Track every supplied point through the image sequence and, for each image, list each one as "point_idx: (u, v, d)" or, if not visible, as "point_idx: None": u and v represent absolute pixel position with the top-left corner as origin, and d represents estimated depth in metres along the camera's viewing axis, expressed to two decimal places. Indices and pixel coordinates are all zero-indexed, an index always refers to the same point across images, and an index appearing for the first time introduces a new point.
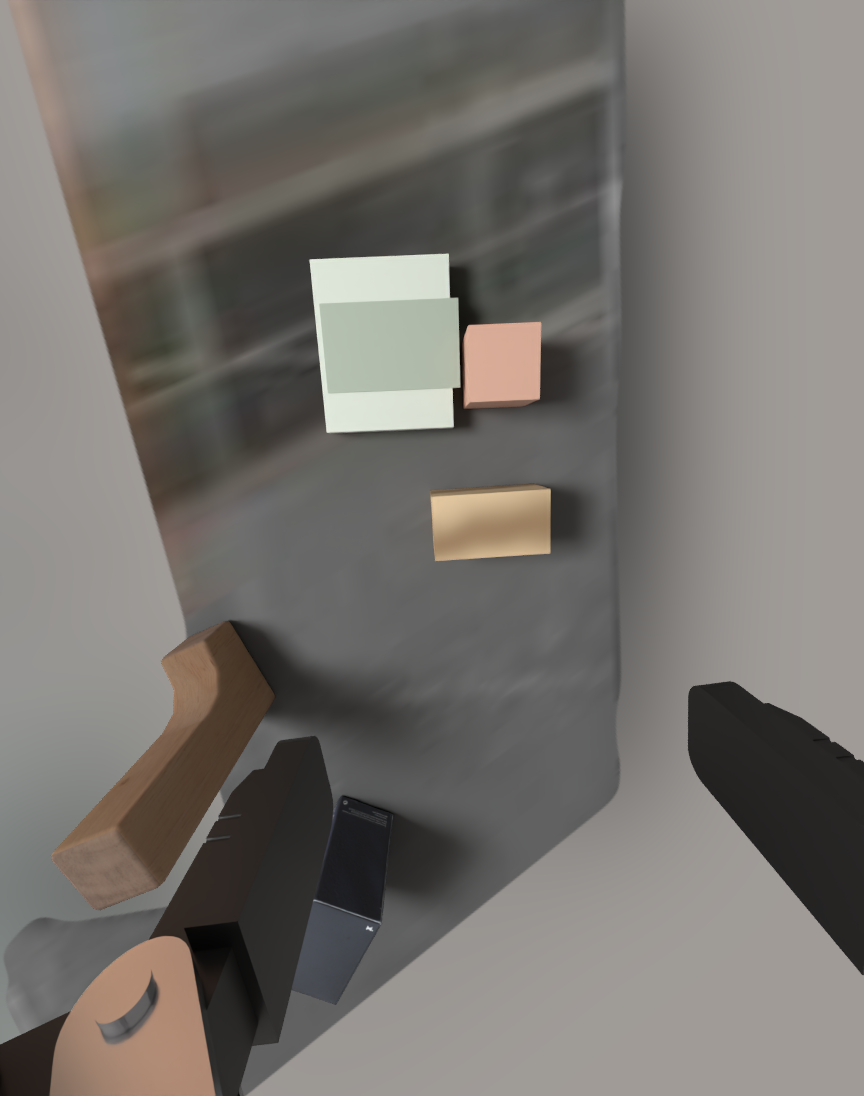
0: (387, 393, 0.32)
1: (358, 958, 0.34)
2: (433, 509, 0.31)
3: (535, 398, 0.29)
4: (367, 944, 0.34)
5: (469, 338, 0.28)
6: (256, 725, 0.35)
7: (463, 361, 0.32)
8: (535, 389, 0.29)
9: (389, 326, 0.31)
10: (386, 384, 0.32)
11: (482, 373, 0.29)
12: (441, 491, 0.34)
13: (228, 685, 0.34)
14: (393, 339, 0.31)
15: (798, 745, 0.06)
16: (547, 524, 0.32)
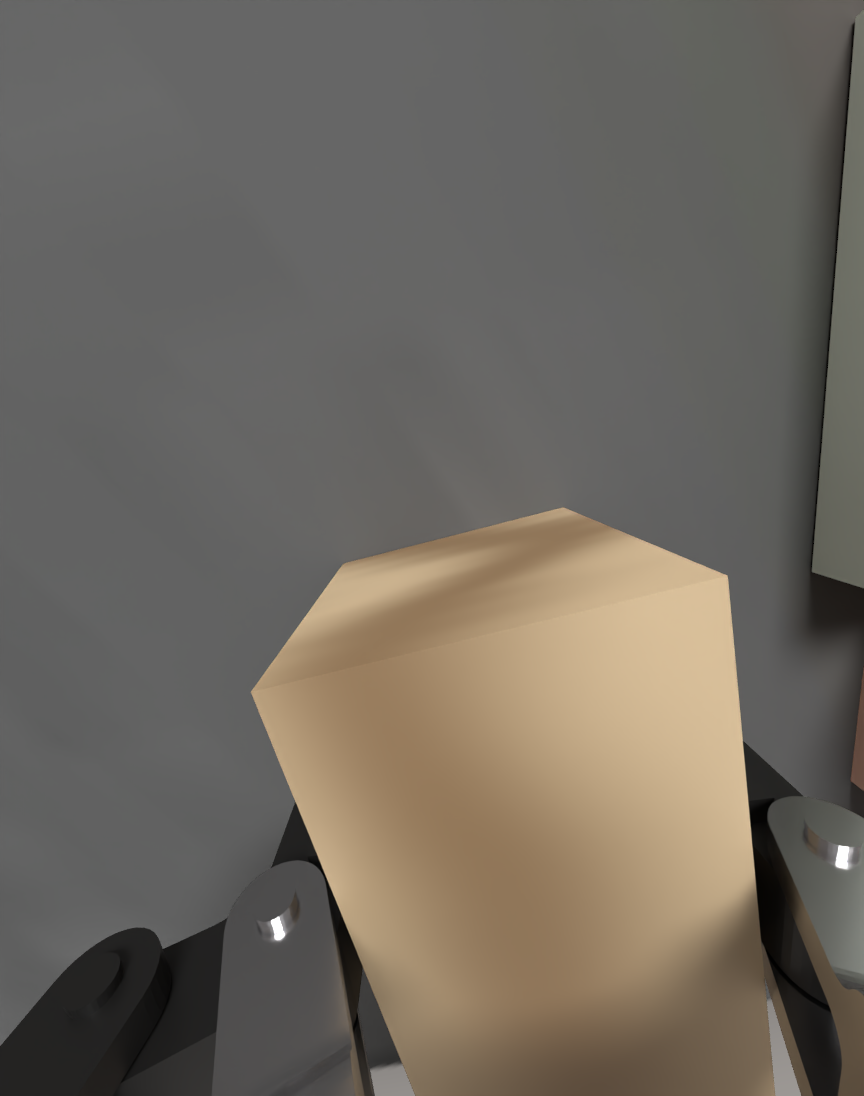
0: None
1: None
2: (633, 609, 0.04)
3: None
4: None
5: None
6: None
7: None
8: None
9: None
10: None
11: None
12: None
13: None
14: None
15: None
16: None
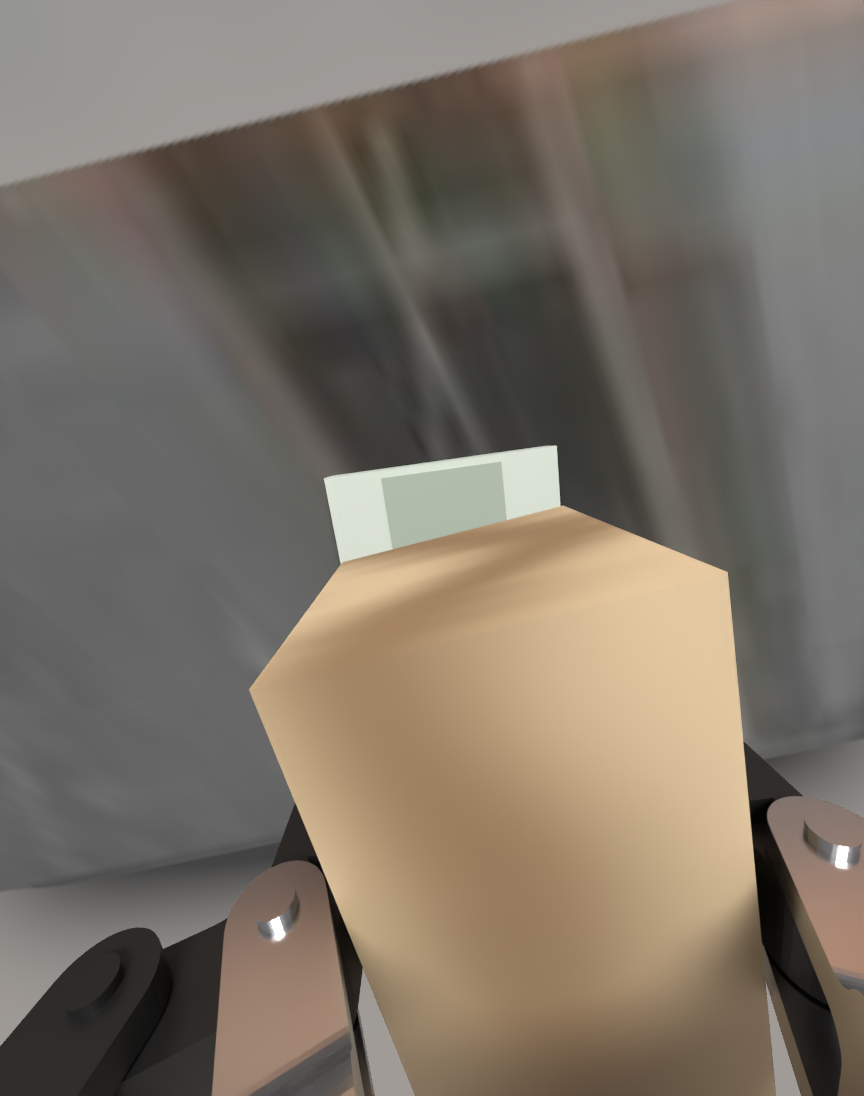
0: None
1: None
2: (632, 605, 0.04)
3: None
4: None
5: None
6: None
7: None
8: None
9: None
10: None
11: None
12: None
13: None
14: None
15: None
16: None
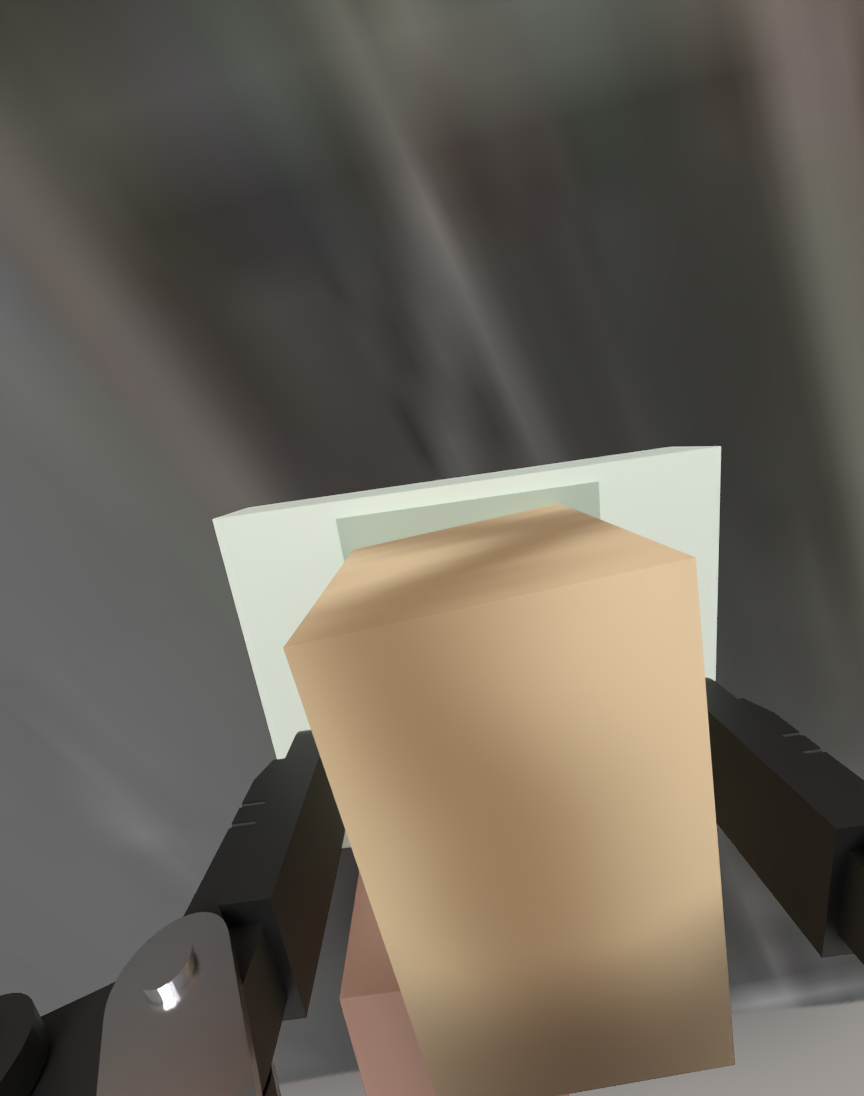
0: None
1: None
2: (614, 583, 0.05)
3: None
4: None
5: None
6: None
7: None
8: None
9: None
10: None
11: None
12: None
13: None
14: None
15: (766, 738, 0.07)
16: (572, 1083, 0.07)
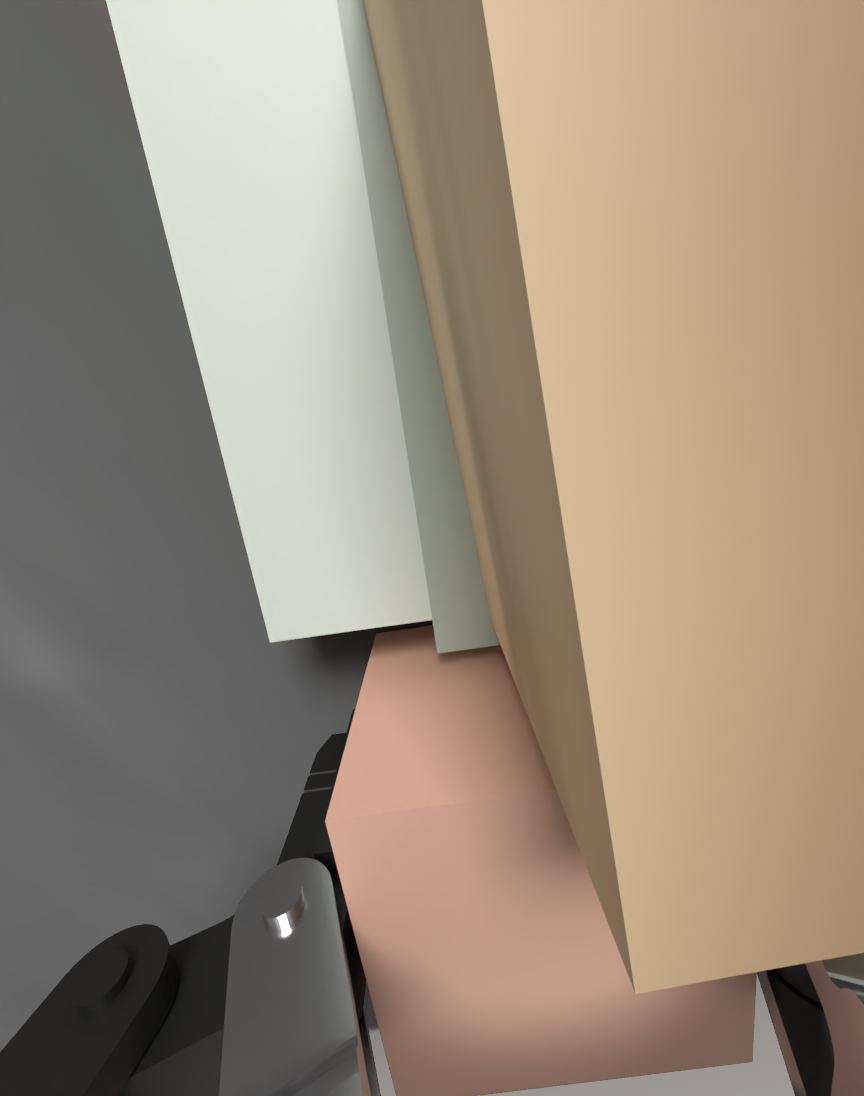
0: (371, 305, 0.06)
1: None
2: None
3: (399, 1084, 0.06)
4: None
5: None
6: None
7: None
8: (441, 1084, 0.06)
9: None
10: (414, 295, 0.06)
11: (495, 864, 0.05)
12: None
13: None
14: None
15: None
16: None
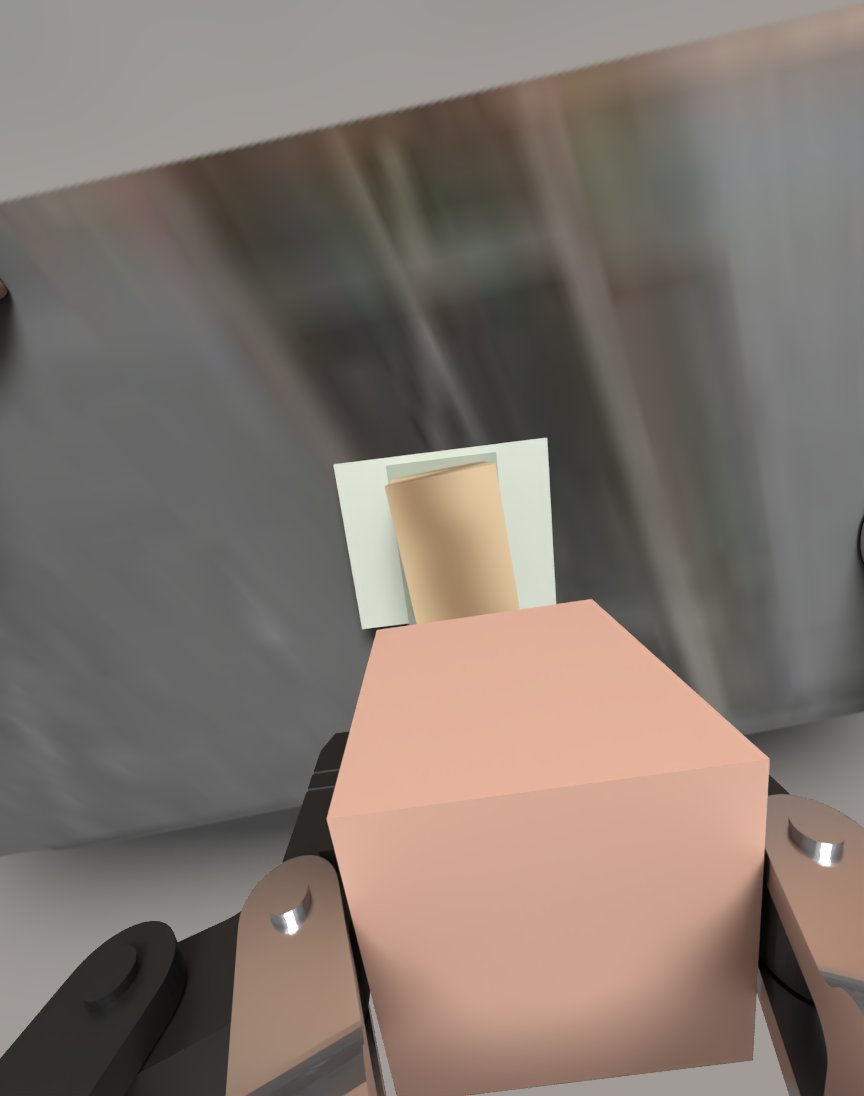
0: (394, 544, 0.24)
1: None
2: (474, 470, 0.18)
3: (400, 1082, 0.06)
4: None
5: (693, 773, 0.05)
6: None
7: (537, 627, 0.08)
8: (441, 1083, 0.06)
9: None
10: None
11: (497, 862, 0.05)
12: None
13: None
14: None
15: None
16: None
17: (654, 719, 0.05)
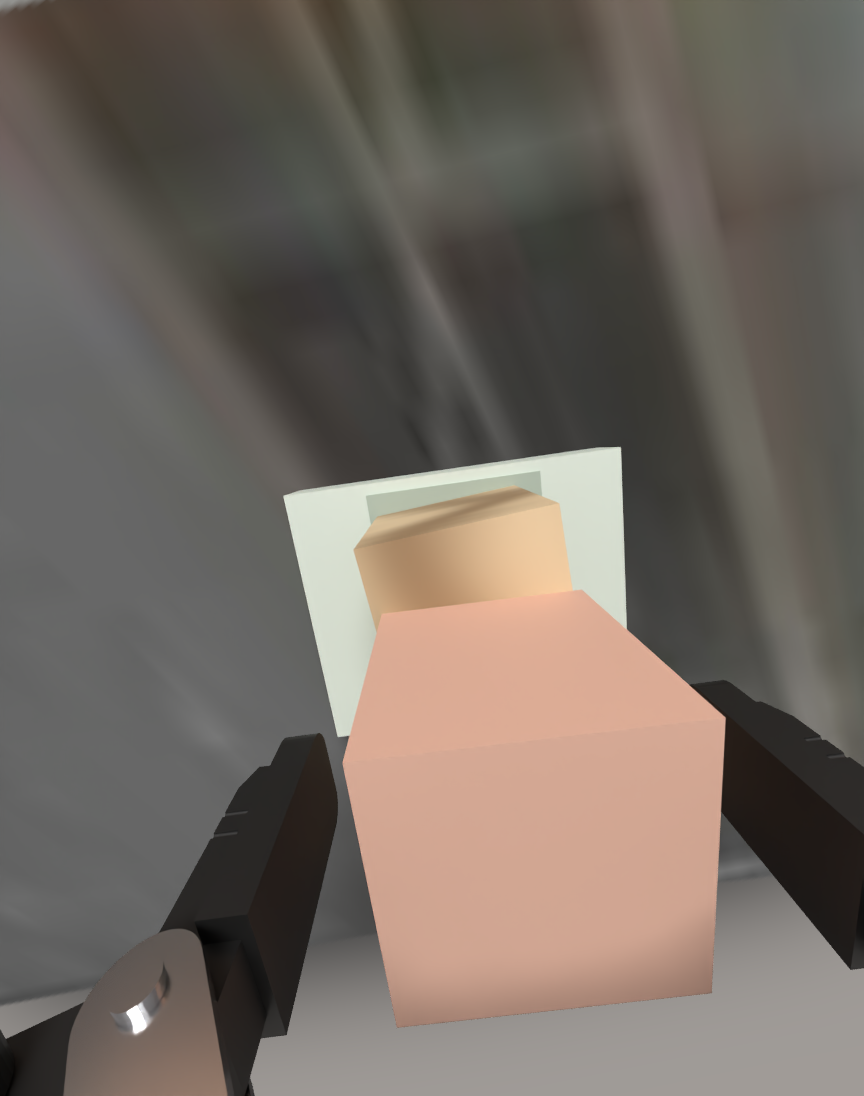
0: None
1: None
2: (519, 516, 0.10)
3: (398, 1009, 0.07)
4: None
5: (660, 729, 0.05)
6: None
7: (530, 613, 0.09)
8: (435, 1009, 0.06)
9: None
10: None
11: (489, 805, 0.06)
12: None
13: None
14: None
15: (789, 743, 0.07)
16: None
17: (630, 687, 0.06)
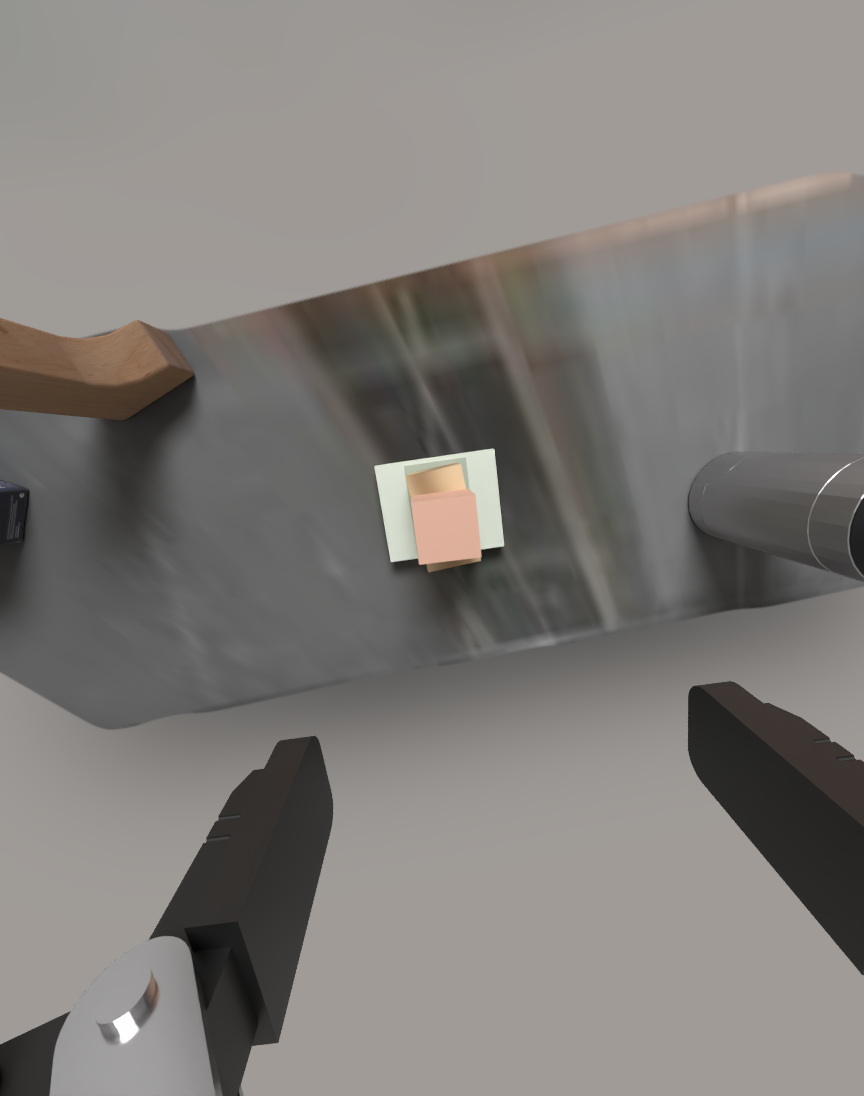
0: (408, 511, 0.42)
1: None
2: (450, 467, 0.36)
3: (419, 561, 0.33)
4: None
5: (464, 496, 0.32)
6: (90, 417, 0.37)
7: (452, 492, 0.35)
8: (427, 560, 0.33)
9: None
10: None
11: (436, 511, 0.32)
12: None
13: (127, 390, 0.36)
14: None
15: (798, 745, 0.06)
16: (451, 564, 0.38)
17: (463, 494, 0.32)
